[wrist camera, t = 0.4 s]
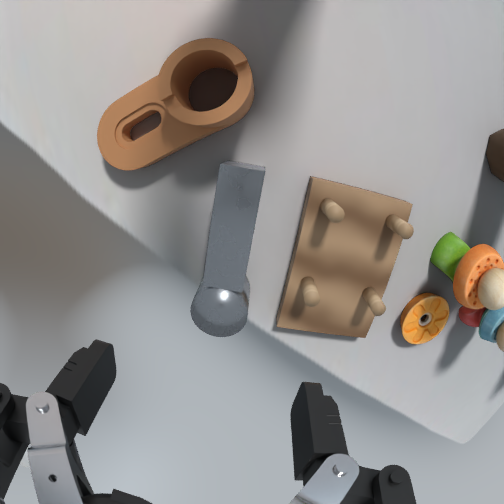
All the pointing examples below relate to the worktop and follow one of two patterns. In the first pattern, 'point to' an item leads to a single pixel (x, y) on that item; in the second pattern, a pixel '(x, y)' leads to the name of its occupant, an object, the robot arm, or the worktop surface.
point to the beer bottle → (496, 154)
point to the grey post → (229, 251)
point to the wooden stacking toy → (461, 293)
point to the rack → (342, 259)
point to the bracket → (174, 106)
